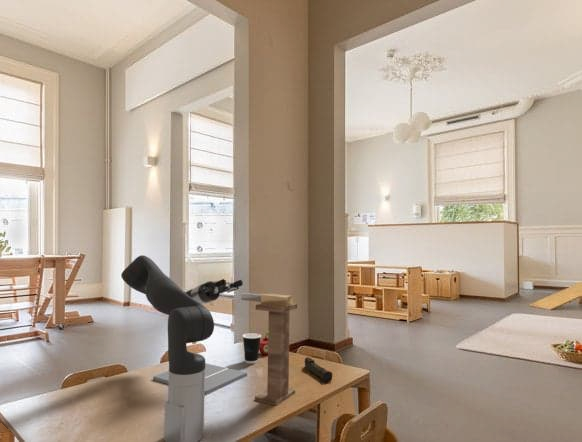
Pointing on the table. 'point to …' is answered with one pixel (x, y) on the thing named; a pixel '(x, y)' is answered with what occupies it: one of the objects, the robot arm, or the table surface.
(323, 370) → the hand tool
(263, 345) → the apple
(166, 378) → the flat grey board
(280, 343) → the walnut stand
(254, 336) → the dixie cup
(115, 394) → the table surface
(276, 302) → the wood and grey bar
